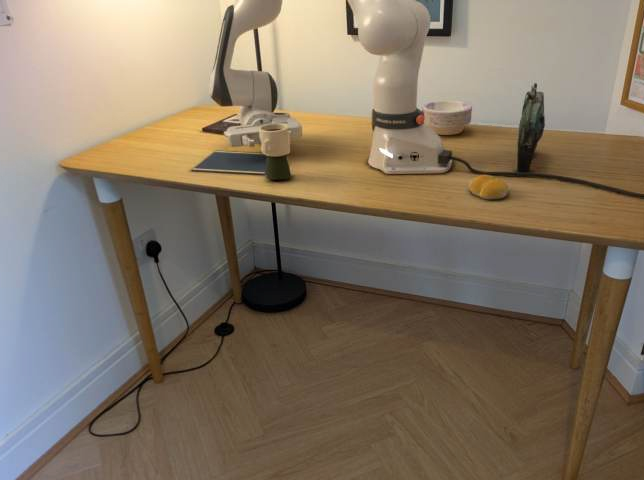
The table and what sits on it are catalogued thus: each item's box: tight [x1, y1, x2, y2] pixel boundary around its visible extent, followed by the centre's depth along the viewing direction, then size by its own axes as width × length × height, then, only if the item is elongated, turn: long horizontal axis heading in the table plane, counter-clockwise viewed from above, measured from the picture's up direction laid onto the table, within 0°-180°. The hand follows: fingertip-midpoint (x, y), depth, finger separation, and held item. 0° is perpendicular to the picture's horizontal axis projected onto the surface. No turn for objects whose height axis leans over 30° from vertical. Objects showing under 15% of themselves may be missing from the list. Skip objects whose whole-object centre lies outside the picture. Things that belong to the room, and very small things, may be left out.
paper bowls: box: [421, 100, 473, 136], centre depth 173 cm, size 15×15×8 cm
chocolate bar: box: [201, 113, 241, 135], centre depth 184 cm, size 9×1×18 cm
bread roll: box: [468, 174, 509, 200], centre depth 132 cm, size 8×9×4 cm
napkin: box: [191, 150, 267, 176], centre depth 153 cm, size 20×16×1 cm
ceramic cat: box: [516, 82, 546, 173], centre depth 145 cm, size 20×6×20 cm, turn 162°
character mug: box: [259, 124, 292, 181], centre depth 140 cm, size 11×7×13 cm, turn 163°
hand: (269, 141), depth 146 cm, fingers open, 8 cm apart
